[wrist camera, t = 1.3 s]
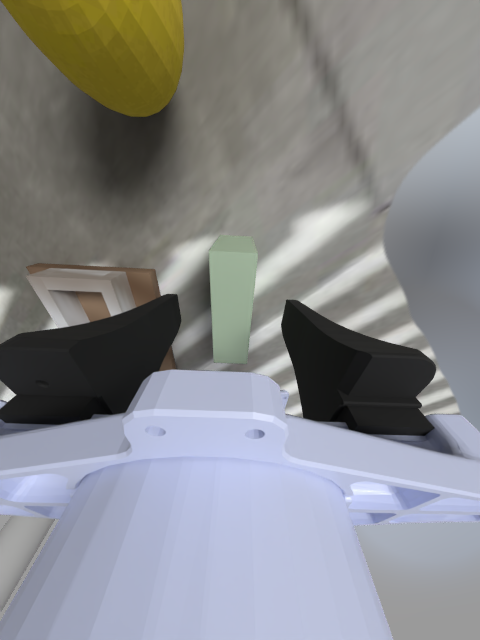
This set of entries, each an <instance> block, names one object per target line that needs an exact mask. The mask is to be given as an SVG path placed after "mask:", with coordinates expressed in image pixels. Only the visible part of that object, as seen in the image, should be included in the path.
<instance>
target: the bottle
mask: <svg viewBox="0 0 480 640" xmlns="http://www.w3.org/2000/svg"><path fill="white" fill-rule="evenodd" d="M54 520H55V519H49V518H37V517H24V516H11V517H10V519H9V520H8V521H7V523H6V524H5V525H4V527H3V528H2V529H1V531H0V612H1V611H2V610H3V608H4V606H5V604H6V603H7V601H8V599H9V598H10V596H11V594H12V592H13V591H14V589H15V587H16V585H17V584H18V582H19V580H20V578H21V577H22V575H23V573H24V571H25V570H26V568H27V567H28V565H29V563H30V561H31V560H32V558H33V556H34V554H35V553H36V551H37V549H38V547H39V546H40V544H41V542H42V541H43V539H44V537H45V536H46V534H47V532H48V530H49V529H50V527H51V525H52V523H53V522H54Z"/></svg>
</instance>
